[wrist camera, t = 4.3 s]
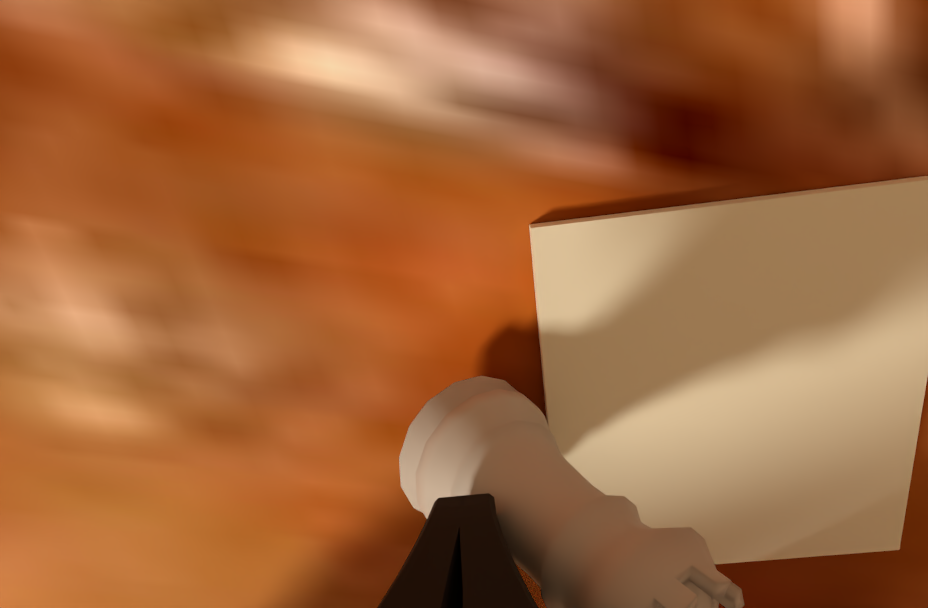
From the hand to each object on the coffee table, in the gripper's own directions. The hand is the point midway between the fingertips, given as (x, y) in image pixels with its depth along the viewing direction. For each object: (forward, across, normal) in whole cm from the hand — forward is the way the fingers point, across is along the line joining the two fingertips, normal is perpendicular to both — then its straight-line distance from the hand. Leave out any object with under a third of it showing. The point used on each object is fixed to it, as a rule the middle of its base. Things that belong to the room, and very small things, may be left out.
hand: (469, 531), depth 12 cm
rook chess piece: (+4, 0, 0) cm, 4 cm away
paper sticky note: (+5, -8, 0) cm, 9 cm away
